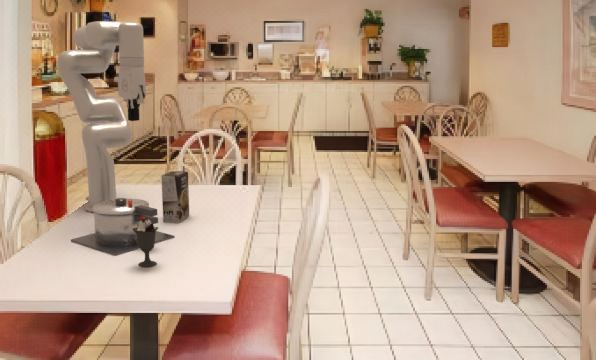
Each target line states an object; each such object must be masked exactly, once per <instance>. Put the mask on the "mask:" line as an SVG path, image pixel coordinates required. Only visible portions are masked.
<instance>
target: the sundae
mask: <svg viewBox="0 0 596 360" xmlns="http://www.w3.org/2000/svg"><path fill="white" fill-rule="evenodd" d="M138 211H139V212H140V210H138ZM140 213H141V212H140ZM141 214H142V213H141ZM158 229H159V227H158V226H156V225H155V224H153V223H151V221H150V220H149V219H146V218H145V217H143V215H142V217H141V218H140V222H139V223H138V224H137V227H136V228H133V231H134V232H135V233H136V236H137V241H138V245H139V250H140V251H142V252H143V253H144V260H143V261H141V262H139V263H138V265H137V266H138V267H139V268H152V267H155V266H156V265H157V264H158V263H157V261H154V260H151V258H150V252H151V251H153V249H154V248H155V244H156V243H155V235H156V231H158Z"/></svg>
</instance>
